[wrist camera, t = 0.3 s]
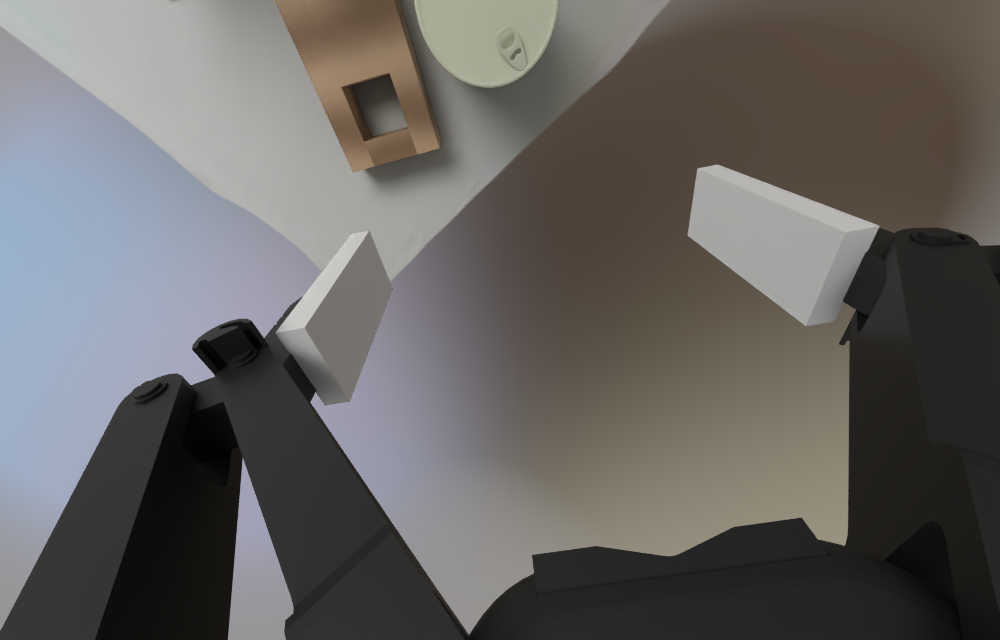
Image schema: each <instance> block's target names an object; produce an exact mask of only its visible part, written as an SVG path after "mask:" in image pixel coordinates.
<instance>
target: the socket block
mask: <svg viewBox="0 0 1000 640" xmlns="http://www.w3.org/2000/svg"><path fill="white" fill-rule="evenodd" d="M275 2H276V4H277V6H278V9H279V11H280V13H281V15H282V17H283V20H284V22H285V24H286V26H287V28H288V30H289V33H290V35H291V37H292V39H293V41H294V44H295V46H296V48H297V50H298V52H299V55H300V57H301V59H302V61H303V63H304V66H305V68H306V70H307V72H308V74H309V77H310V79H311V81H312V83H313V85H314V88H315V90H316V92H317V94H318V96H319V99H320V101H321V103H322V105H323V107H324V109H325V112H326V114H327V116H328V118H329V120H330V123H331V125H332V127H333V129H334V131H335V134H336V136H337V138H338V140H339V142H340V145H341V147H342V149H343V151H344V153H345V156H346V158H347V160H348V162H349V164H350V167H351V169H352V171H353V172H356V171H360V170H363V169H367V168H371V167H374V166H378V165H381V164H385V163H389V162H392V161H396V160H399V159H403V158H407V157H410V156H414V155H417V154H421V153H425V152H428V151H432V150H435V149H439V148H440V146H441V144H442V142H441V139H440V135H439V132H438V129H437V125H436V122H435V119H434V115H433V112H432V109H431V106H430V102H429V99H428V96H427V92H426V89H425V86H424V82H423V79H422V76H421V73H420V69H419V66H418V63H417V59H416V56H415V53H414V50H413V46H412V43H411V40H410V36H409V33H408V30H407V26H406V23H405V20H404V17H403V13H402V10H401V7H400V3H399V0H275ZM386 75H390V76H391V79H392V82H393V85H394V88H395V90H396V93H397V96H398V99H399V102H400V105H401V108H402V111H403V114H404V117H405V119H406V122H407V125H408V127H407V128H403V129H400V130H396V131H393V132H389V133H386V134H382V135H379V136H375V137H371V134H370V132H369V129H368V127H367V124H366V122H365V119H364V117H363V115H362V112H361V110H360V107H359V105H358V102H357V100H356V97H355V95H354V92H353V90H352V87H351V86H353V85H356V84H360V83H363V82H366V81H370V80H373V79H376V78H380V77H383V76H386Z"/></svg>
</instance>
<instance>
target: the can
mask: <svg viewBox="0 0 1000 640" xmlns="http://www.w3.org/2000/svg"><path fill="white" fill-rule="evenodd" d="M414 2H415V9H416V14H417V19H418V23H419V26H420V29H421V32H422V34H423V37H424V39H425V41H426V43H427V45H428V47H429V49H430V50H431V52H432V54H433V55H434V56H435V58H436V59H437V61H438V62H439V63H440V64H441V65H442V66H443V67H444V68H445V69H446V70H447V71H448V72H449V73H450V74H451V75H453V76H454V77H456V78H457V79H459V80H460V81H462V82H464V83H467V84H469V85H472V86H476V87H481V88H496V87H501V86H505V85H508V84H510V83H513V82H515V81H516V80H518V79H520V78H521V77H523V76H524V75H525V74H526V73H528V72H529V71H530V70H531V69H532V68H533V67H534V65H535V64H536V63H537V62H538V61H539V59H540V58H541V56H542V55H543V53H544V52H545V50H546V48H547V46H548V44H549V42H550V39H551V37H552V34H553V31H554V28H555V24H556V20H557V15H558V8H559V0H414Z"/></svg>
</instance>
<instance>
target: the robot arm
mask: <svg viewBox="0 0 1000 640" xmlns="http://www.w3.org/2000/svg"><path fill="white" fill-rule="evenodd" d="M879 227H880V226H878V225H875V224H873V223H870V222H868V221H865V220H862V219H860V218H857V217H854V216H851V215H849V214H847V213H844V212H841V211H838V210H836V209H833V208H831V207H828V206H825V205H823V204H820V203H818V202H815V201H812V200H810V199H807V198H804V197H802V196H799V195H796V194H793V193H791V192H788V191H786V190H783V189H781V188H778V187H775V186H772V185H770V184H767V183H765V182H762V181H759V180H757V179H754V178H751V177H749V176H746V175H744V174H741V173H738V172H736V171H733V170H730V169H728V168H725V167H722V166H720V165H714V166H708V167H703V168H698V169H697V177H696V183H695V190H694V196H693V203H692V210H691V217H690V223H689V230H688V236H689V237H690V238H692V239H693V240H694V241H696V242H697V243H698V244H699V245H701V246H702V247H703V248H705V249H706V250H707V251H708V252H710V253H711V254H712V255H714V256H715V257H716V258H718V259H719V260H721V261H722V262H723V263H724V264H725V265H727V266H728V267H729V268H731V269H732V270H733V271H735V272H736V273H737V274H739V275H740V276H741V277H743V278H744V279H745V280H747V281H748V282H749V283H750V284H752V285H753V286H754V287H756V288H757V289H758V290H759V291H761V292H762V293H763V294H765V295H766V296H767V297H769V298H770V299H771V300H772V301H774V302H775V303H777V304H778V305H779V306H781V307H782V308H783V309H784V310H786V311H787V312H788V313H789V314H791V315H792V316H794V317H795V318H796V319H797V320H799V321H800V322H801V323H803V324H804V325H805V326H810V325H816V324H822V323H828V322H833V321H835V319H836V317H837V315H838V313H839V311H840V308H841V307H842V304H843V302H845V303H846V304H848V305H850V306H851V307H853V308H855V309H856V311H855V313H854V315H853V317H852V319H851V321H850V323H849V325H848V327H847V329H846V331H845V333H844V335H843V337H842V339H841V341H840V343H839V344H840V345H845V343H846V342H847V341H849V340H850V362H849V365H850V366H849V368H850V369H849V370H850V371H849V497H848V506H849V507H848V509H849V510H848V536H847V541H846V545H845V546H842V545H839V544H835V543H831V542H827V541H822V540H818V539H817V538H816V537H815V535H814V534H813V533H812V531H811V530H810V528H809V527H808V526H807V524H806V523H805V522H804V520H803V519H802V518H797V519H789V520H782V521H775V522H768V523H761V524H754V525H746V526H739V527H733V528H731V529H729V530H727V531H725V532H723V533H721V534H719V535H717V536H715V537H713V538H711V539H709V540H707V541H705V542H703V543H701V544H699V545H697V546H695V547H693V548H691V549H689V550H687V551H685V552H683V553H681V554H678V555H676V556H669V557H668V556H660V555H653V554H646V553H639V552H632V551H625V550H619V549H612V548H604V547H598V546H594V547H588V548H581V549H573V550H565V551H558V552H551V553H544V554H536V555H532V558H533V567H534V574H532V575H530V576H528V577H526V578H524V579H522V580H521V581H519V582H518V583H516V584H515V585H513V586H512V587H511V588H509V589H508V590H506V591H505V592H504V593H503V594H502V595H501V596H500V597H499V598H498V599H496V600H495V601H494V602H493V604H492V605H491V606H490V607H489V609H487V611H486V612H485V613H484V614H483V615H482V617H481V618H480V620H479V621H478V623H477V624H476V625H475V627H474V629H473V630H472V632H471V633H470V635H469V634H468V633H467V632H466V630H465V629H464V627H463V626H462V624H461V623H460V621H459V620H458V618H457V617H456V616H455V614H454V613H453V611H452V610H451V609H450V607H449V606H448V604H447V603H446V601H445V600H444V598H443V597H442V596H441V594H440V593H439V591H438V590H437V588H436V587H435V586H434V584H433V582H432V581H431V580H430V578H429V577H428V575H427V574H426V572H425V571H424V569H423V568H422V566H421V565H420V563H419V562H418V560H417V559H416V557H415V556H414V554H413V553H412V552H411V550H410V549H409V547H408V546H407V544H406V543H405V541H404V540H403V538H402V537H401V535H400V534H399V532H398V531H397V529H396V528H395V527H394V525H393V524H392V522H391V521H390V519H389V518H388V516H387V515H386V513H385V512H384V510H383V509H382V507H381V506H380V504H379V503H378V501H377V500H376V499H375V497H374V496H373V494H372V493H371V491H370V490H369V488H368V487H367V485H366V484H365V482H364V481H363V479H362V478H361V476H360V475H359V473H358V472H357V471H356V469H355V468H354V466H353V465H352V463H351V462H350V460H349V459H348V457H347V456H346V454H345V453H344V451H343V450H342V449H341V447H340V446H339V444H338V442H337V441H336V440H335V438H334V437H333V435H332V434H331V432H330V431H329V429H328V428H327V426H326V425H325V424H324V422H323V420H322V419H321V418H320V416H319V414H318V413H317V412H316V410H315V409H314V407H313V406H312V405H311V403H310V402H311V400H312V398H313V396H314V394H315V392H316V393H317V395H318V396H319V397H320V399H321V400H322V402H323V403H324V405H330V404H336V403H342V402H349V401H350V399H351V397H352V394H353V392H354V389H355V386H356V384H357V381H358V379H359V376H360V373H361V371H362V368H363V365H364V363H365V360H366V357H367V355H368V352H369V350H370V347H371V344H372V342H373V339H374V337H375V334H376V331H377V329H378V326H379V323H380V321H381V318H382V316H383V313H384V310H385V308H386V305H387V302H388V300H389V297H390V295H391V292H392V289H393V288H392V286H391V283H390V281H389V278H388V276H387V273H386V271H385V268H384V266H383V263H382V261H381V258H380V256H379V253H378V251H377V248H376V246H375V243H374V241H373V238H372V236H371V233H370V231H365V232H360V233H354V234H351V235H350V236H349V238H348V239H347V240H346V241H345V243H344V244H343V245H342V247H341V248H340V249H339V251H338V252H337V253H336V254H335V256H334V257H333V258H332V260H331V261H330V262H329V264H328V265H327V266H326V268H325V269H324V270H323V271H322V273H321V274H320V275H319V277H318V278H317V279H316V281H315V282H314V283H313V285H312V286H311V287H310V288H309V290H308V291H307V292H306V294H305V295H304V296H303V297H301V298H300V299H298V300H297V301H296V302H294V303H293V304H292V305H290V307H289V308H288V309H287V310H286V312H285V313H284V314H283V317H281V318H280V319H279V321H278V322H277V325H274V327H273V328H272V329H271V330H270V332H269V333H268V335H267V336H266V337H265V338H263V336H262V335H261V334H260V332H259V331H258V329H257V328H256V327H255V325H254V324H253V322H252V321H250V320H249V319H237V320H233V321H229V322H226V323H224V324H221V325H219V326H217V327H215V328H213V329H211V330H210V331H208V332H206V333H205V334H204V335H202V336H201V337H200V338H198V339H197V341H196V342H195V343H194V344H193V347H192V350H193V351H194V352H195V353H196V354H197V355H198V357H199V358H200V359H201V360H202V361H203V362H204V363H205V364H206V366H208V368H209V369H210V370H211V371H212V372H213V373H214V375H215V377H213V378H210V379H208V380H205V381H202V382H199V383H196V384H194V385H190V384H189V383H188V382H187V381H186V380H185V379H184V378H183V377H182V376H181V375H179V374H168V375H164V376H161V377H158V378H156V379H154V380H152V381H147V382H145V383H143V384H141V386H138V387H137V388H135V389H134V390H133V391H132V392H131V393H130V394H129V395H128V396H127V397H125V398H124V400H123V401H122V402H121V403H120V405H119V406H118V408H117V409H116V411H115V413H114V415H113V417H112V419H111V421H110V423H109V425H108V427H107V429H106V430H105V432H104V435H103V436H102V438H101V440H100V442H99V444H98V446H97V448H96V450H95V452H94V453H93V455H92V457H91V459H90V461H89V463H88V465H87V467H86V469H85V471H84V472H83V475H82V476H81V478H80V480H79V482H78V484H77V486H76V488H75V490H74V492H73V494H72V495H71V497H70V499H69V501H68V503H67V505H66V507H65V509H64V511H63V513H62V514H61V516H60V518H59V520H58V522H57V524H56V526H55V528H54V530H53V532H52V534H51V535H50V537H49V539H48V541H47V543H46V545H45V547H44V549H43V551H42V553H41V555H40V556H39V558H38V560H37V562H36V564H35V566H34V568H33V570H32V572H31V574H30V576H29V577H28V579H27V581H26V583H25V585H24V587H23V589H22V591H21V593H20V595H19V597H18V599H17V600H16V602H15V604H14V606H13V608H12V610H11V612H10V614H9V616H8V618H7V620H6V621H5V623H4V625H3V627H2V629H1V631H0V640H228V629H229V618H230V606H231V593H232V580H233V569H234V557H235V544H236V532H237V520H238V507H239V496H240V482H241V471H242V458H243V459H244V461H245V465H246V467H247V470H248V473H249V476H250V479H251V482H252V485H253V488H254V491H255V494H256V496H257V500H258V502H259V505H260V508H261V511H262V514H263V517H264V519H265V523H266V526H267V528H268V531H269V534H270V537H271V540H272V543H273V546H274V549H275V552H276V555H277V558H278V560H279V563H280V566H281V569H282V572H283V575H284V578H285V581H286V584H287V587H288V589H289V592H290V595H291V598H292V602H293V606H294V612H293V614H292V615H291V616H290V617H289V618H288V619H287V620H286V621H285V631H284V632H285V637H286V640H1000V245H995V246H979V244H978V242H977V241H975V240H974V239H973V238H972V237H970V236H968V235H966V234H962V233H958V232H954V231H950V230H947V229H942V228H910V229H903V230H900V231H897V232H896V233H892V232H890V231H887V230H884V229H882V228H879Z"/></svg>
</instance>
